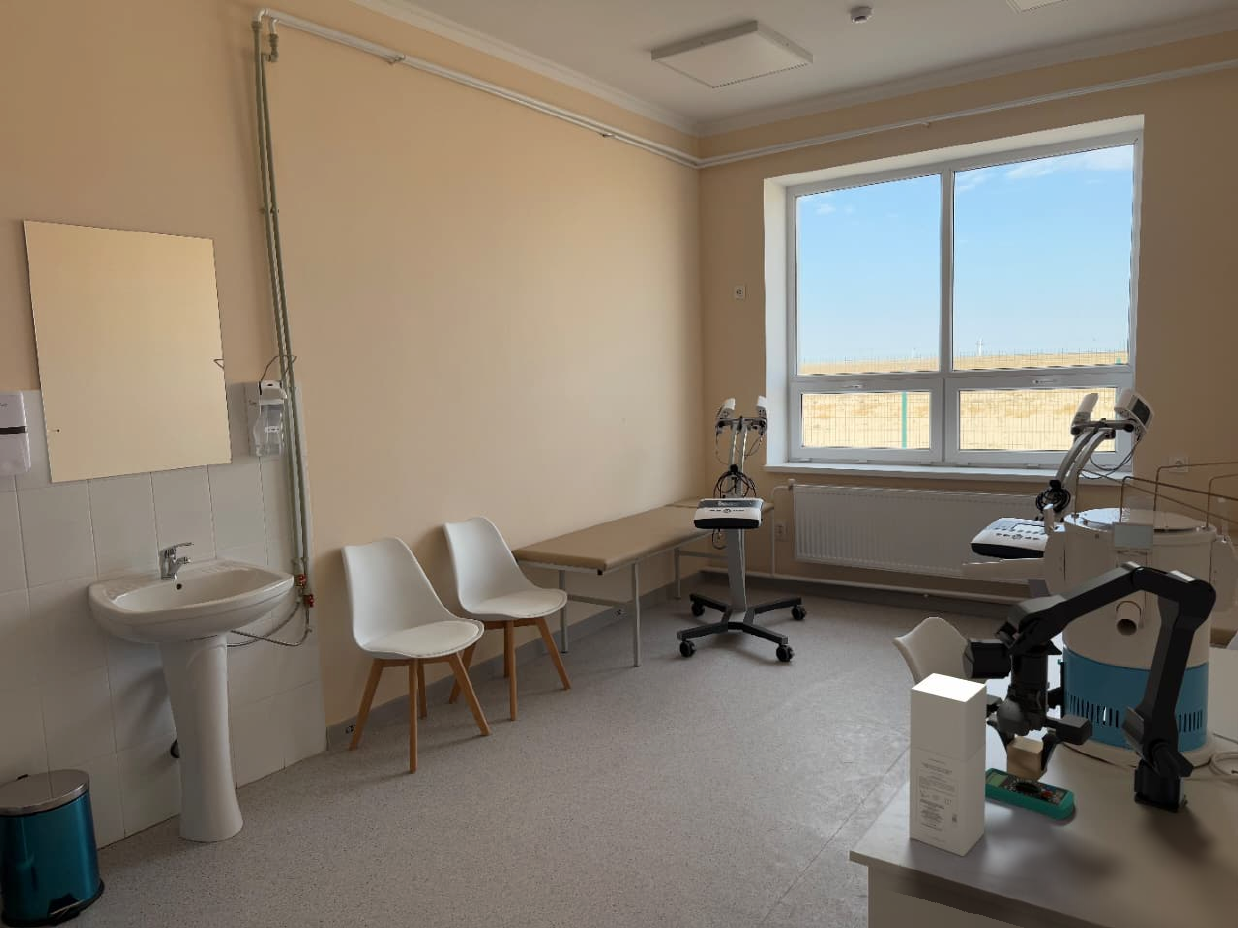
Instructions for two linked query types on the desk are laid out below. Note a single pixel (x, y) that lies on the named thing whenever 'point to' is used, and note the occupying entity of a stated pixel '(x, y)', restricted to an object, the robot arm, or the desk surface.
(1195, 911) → the desk surface
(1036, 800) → the digital multimeter
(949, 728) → the tall white carton
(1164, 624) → the robot arm
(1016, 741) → the walnut cube
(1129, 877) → the desk surface
